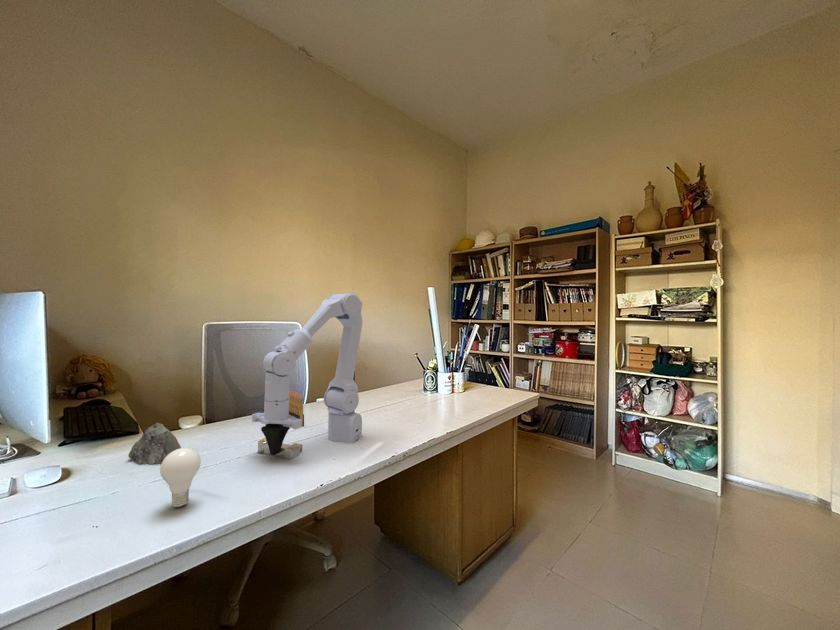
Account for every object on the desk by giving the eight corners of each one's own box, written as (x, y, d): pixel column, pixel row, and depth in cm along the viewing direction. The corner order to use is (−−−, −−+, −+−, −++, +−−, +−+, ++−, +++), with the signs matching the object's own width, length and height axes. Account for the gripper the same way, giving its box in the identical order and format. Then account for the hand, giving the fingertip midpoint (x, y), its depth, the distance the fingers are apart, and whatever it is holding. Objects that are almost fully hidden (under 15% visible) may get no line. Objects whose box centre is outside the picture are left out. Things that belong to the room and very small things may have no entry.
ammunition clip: (304, 430, 108) (304, 393, 108) (298, 431, 106) (299, 394, 107) (289, 422, 115) (290, 388, 115) (284, 424, 114) (285, 389, 114)
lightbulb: (168, 520, 59) (169, 458, 59) (153, 508, 62) (154, 450, 63) (206, 503, 64) (207, 447, 65) (190, 494, 68) (191, 440, 68)
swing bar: (255, 452, 86) (255, 440, 86) (264, 447, 89) (264, 436, 89) (290, 459, 82) (290, 446, 82) (299, 454, 85) (299, 442, 85)
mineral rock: (129, 458, 85) (130, 419, 85) (180, 448, 91) (181, 412, 92) (124, 477, 75) (125, 433, 75) (182, 465, 81) (183, 424, 81)
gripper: (242, 399, 82) (240, 454, 82) (287, 406, 77) (285, 465, 76) (265, 394, 89) (263, 444, 88) (308, 399, 83) (306, 454, 83)
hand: (275, 453), depth 83 cm, fingers closed, pressing on swing bar
